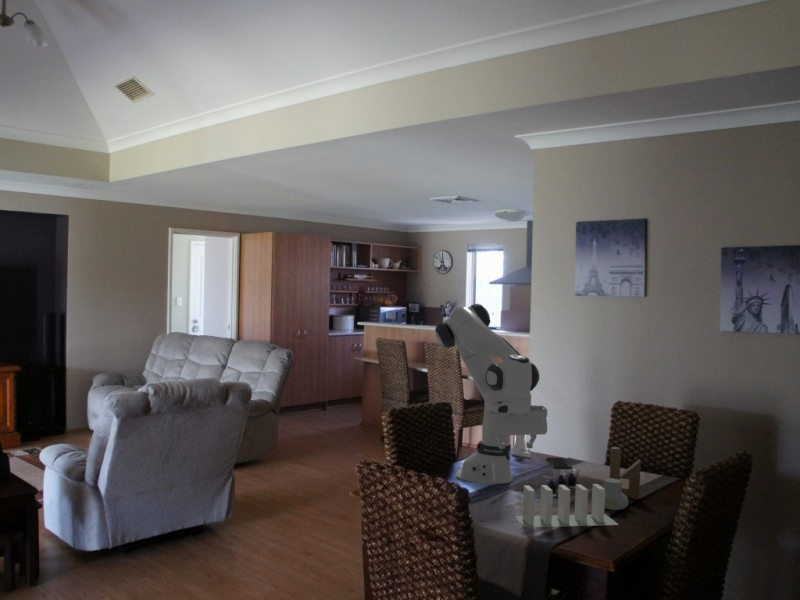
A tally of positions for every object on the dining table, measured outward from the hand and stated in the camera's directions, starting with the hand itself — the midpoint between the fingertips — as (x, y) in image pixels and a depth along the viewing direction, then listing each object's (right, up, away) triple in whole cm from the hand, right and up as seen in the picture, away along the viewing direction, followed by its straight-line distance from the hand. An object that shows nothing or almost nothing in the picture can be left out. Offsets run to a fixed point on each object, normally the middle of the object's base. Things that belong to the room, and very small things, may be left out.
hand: (515, 448), depth 220 cm
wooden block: (+46, -26, +34) cm, 62 cm away
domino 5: (+28, -25, +5) cm, 38 cm away
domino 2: (+10, -24, +2) cm, 26 cm away
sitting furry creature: (+18, -23, +90) cm, 94 cm away
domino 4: (+22, -25, +4) cm, 33 cm away
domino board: (+17, -26, +4) cm, 31 cm away
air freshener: (+37, -26, +20) cm, 49 cm away
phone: (+32, -24, +77) cm, 87 cm away
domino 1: (+4, -24, +2) cm, 25 cm away
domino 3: (+16, -25, +3) cm, 30 cm away
